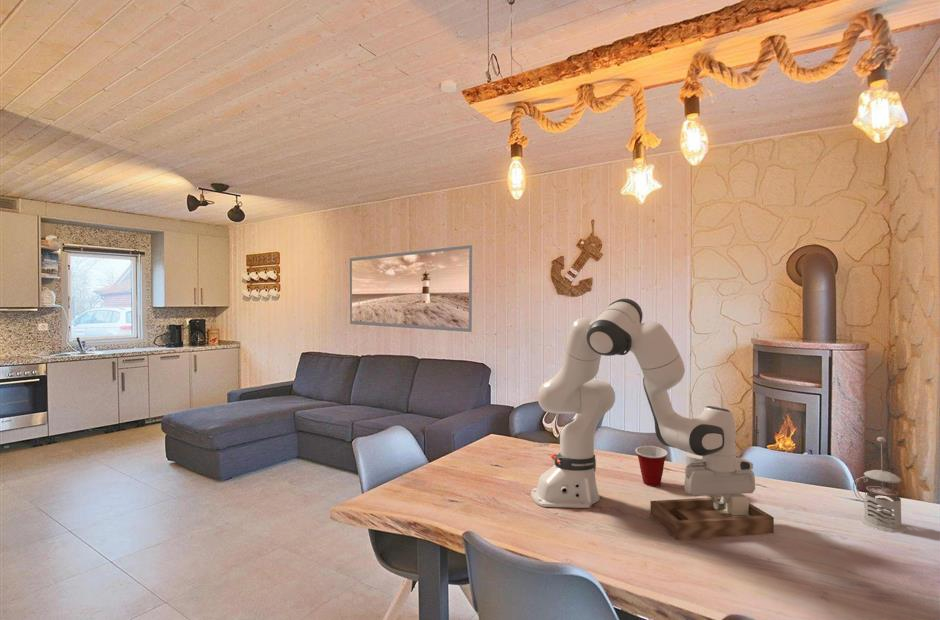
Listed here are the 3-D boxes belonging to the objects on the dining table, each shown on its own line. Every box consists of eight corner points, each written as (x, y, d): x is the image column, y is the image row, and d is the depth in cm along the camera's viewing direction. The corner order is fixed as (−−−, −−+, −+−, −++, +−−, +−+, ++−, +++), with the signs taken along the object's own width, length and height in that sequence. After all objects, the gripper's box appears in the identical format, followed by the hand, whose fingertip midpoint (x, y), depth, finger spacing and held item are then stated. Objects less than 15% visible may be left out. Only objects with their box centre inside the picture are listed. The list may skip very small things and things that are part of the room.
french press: (897, 535, 127) (895, 443, 127) (846, 519, 137) (844, 434, 137) (913, 527, 131) (911, 438, 131) (863, 512, 141) (861, 429, 142)
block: (732, 515, 135) (732, 497, 136) (721, 507, 140) (721, 491, 141) (748, 515, 136) (748, 497, 136) (737, 508, 141) (737, 491, 141)
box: (677, 539, 126) (677, 523, 126) (650, 515, 141) (650, 500, 141) (773, 533, 129) (773, 517, 129) (737, 510, 144) (737, 496, 144)
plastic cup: (635, 487, 164) (634, 453, 164) (636, 476, 174) (635, 444, 174) (668, 491, 160) (668, 456, 160) (667, 480, 170) (667, 447, 170)
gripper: (691, 466, 134) (692, 515, 133) (758, 463, 136) (759, 511, 135) (679, 459, 140) (680, 506, 140) (743, 457, 142) (744, 502, 142)
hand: (719, 508), depth 138 cm, fingers closed
